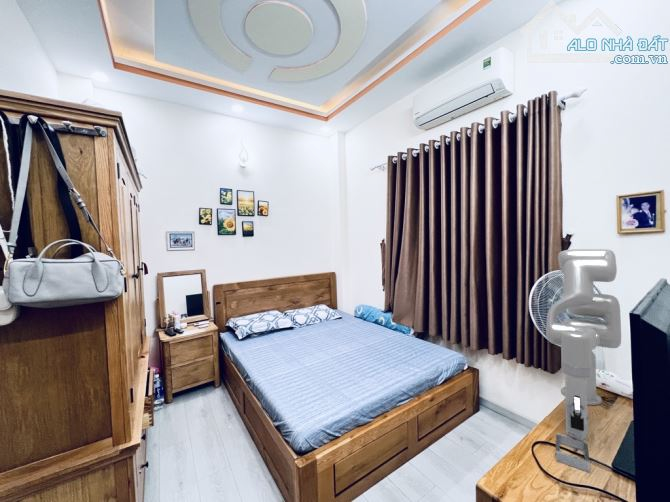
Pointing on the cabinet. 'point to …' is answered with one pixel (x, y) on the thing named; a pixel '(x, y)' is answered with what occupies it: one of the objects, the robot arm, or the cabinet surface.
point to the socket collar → (568, 458)
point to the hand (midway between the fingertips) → (576, 422)
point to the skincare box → (571, 431)
